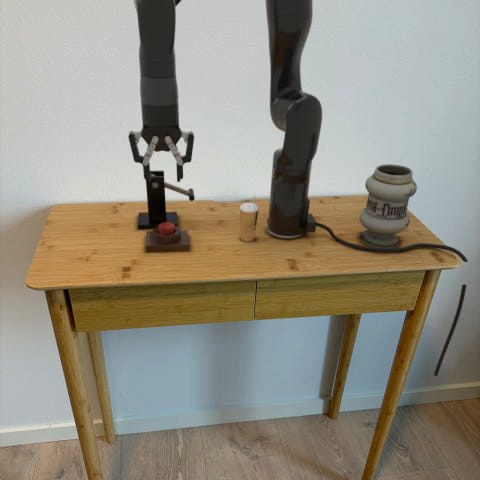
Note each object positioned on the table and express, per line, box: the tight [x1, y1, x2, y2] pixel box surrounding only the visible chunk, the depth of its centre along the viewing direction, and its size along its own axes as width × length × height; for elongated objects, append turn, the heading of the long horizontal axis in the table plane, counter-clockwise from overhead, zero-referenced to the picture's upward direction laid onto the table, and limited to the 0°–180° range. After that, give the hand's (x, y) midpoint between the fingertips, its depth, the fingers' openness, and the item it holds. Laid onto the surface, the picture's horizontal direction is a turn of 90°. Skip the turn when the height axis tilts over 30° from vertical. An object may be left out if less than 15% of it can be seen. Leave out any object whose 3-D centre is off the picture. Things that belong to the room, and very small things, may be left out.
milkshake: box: [239, 195, 260, 242], centre depth 120 cm, size 4×5×10 cm
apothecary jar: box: [358, 163, 418, 248], centre depth 119 cm, size 12×12×18 cm
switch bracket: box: [137, 170, 179, 230], centre depth 124 cm, size 10×8×13 cm
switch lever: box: [151, 173, 196, 202], centre depth 123 cm, size 12×5×2 cm, turn 97°
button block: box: [145, 226, 190, 253], centre depth 117 cm, size 10×8×4 cm
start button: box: [159, 222, 175, 235], centre depth 116 cm, size 4×4×2 cm
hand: (164, 180), depth 109 cm, fingers open, 6 cm apart
